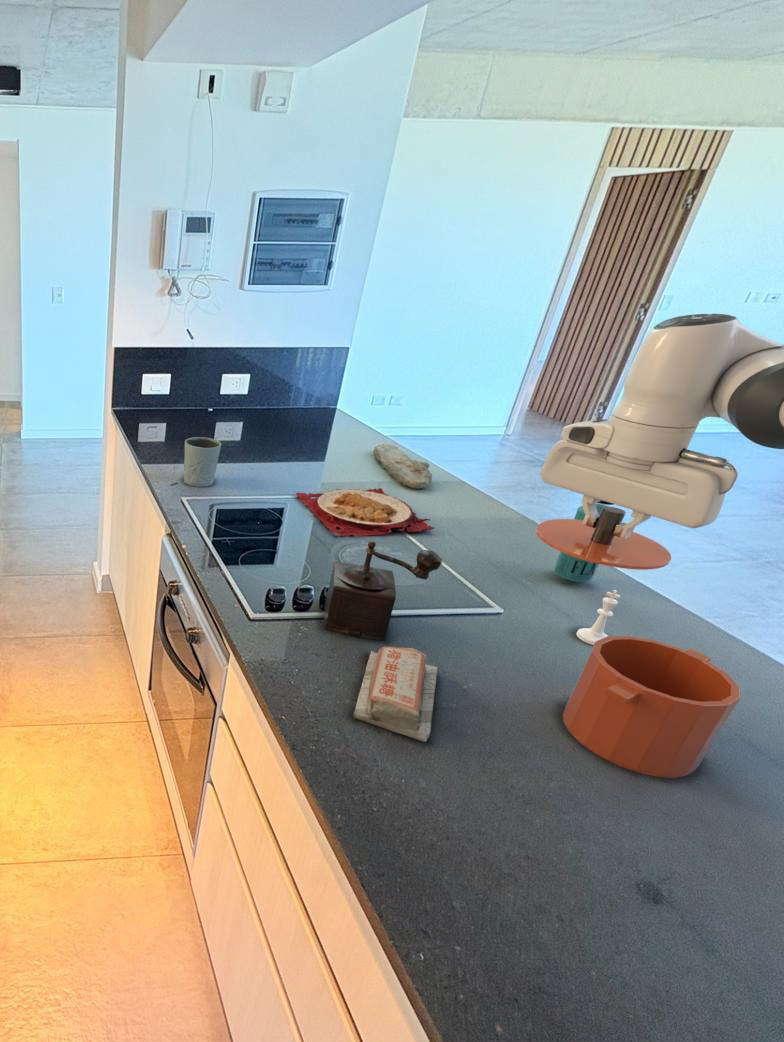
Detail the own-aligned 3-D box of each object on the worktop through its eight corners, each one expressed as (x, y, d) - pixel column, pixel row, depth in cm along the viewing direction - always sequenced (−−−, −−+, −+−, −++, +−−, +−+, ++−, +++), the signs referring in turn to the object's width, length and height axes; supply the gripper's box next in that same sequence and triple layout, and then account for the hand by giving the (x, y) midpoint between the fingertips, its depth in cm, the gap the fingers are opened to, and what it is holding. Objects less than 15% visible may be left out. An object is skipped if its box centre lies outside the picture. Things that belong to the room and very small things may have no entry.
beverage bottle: (560, 587, 124) (598, 496, 115) (543, 571, 130) (577, 483, 121) (597, 590, 123) (637, 498, 114) (577, 574, 129) (614, 485, 120)
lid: (691, 559, 88) (711, 520, 85) (629, 583, 82) (648, 542, 79) (572, 518, 100) (586, 483, 98) (511, 536, 95) (524, 500, 92)
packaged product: (436, 719, 84) (358, 694, 89) (427, 745, 87) (352, 720, 91) (443, 650, 98) (375, 632, 103) (435, 674, 100) (369, 655, 105)
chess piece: (607, 651, 105) (630, 601, 101) (572, 638, 109) (593, 590, 104) (613, 639, 108) (636, 591, 104) (579, 627, 112) (600, 580, 107)
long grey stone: (396, 456, 201) (364, 456, 202) (399, 440, 199) (366, 441, 200) (440, 490, 169) (401, 491, 171) (444, 472, 167) (404, 472, 169)
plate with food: (380, 494, 169) (382, 483, 168) (433, 533, 146) (437, 520, 145) (294, 498, 169) (296, 486, 167) (334, 537, 146) (337, 523, 144)
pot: (728, 750, 85) (774, 679, 79) (646, 800, 78) (690, 726, 72) (608, 687, 97) (641, 621, 91) (528, 726, 90) (558, 657, 84)
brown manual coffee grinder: (322, 632, 111) (341, 543, 103) (324, 601, 121) (341, 518, 112) (418, 651, 106) (446, 559, 98) (412, 617, 115) (437, 531, 107)
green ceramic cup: (181, 474, 184) (184, 436, 179) (215, 476, 183) (219, 437, 178) (182, 487, 175) (185, 447, 170) (218, 488, 174) (222, 448, 169)
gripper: (757, 459, 76) (706, 556, 83) (577, 419, 93) (546, 502, 99) (731, 466, 74) (680, 566, 80) (551, 424, 91) (521, 509, 97)
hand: (605, 531), depth 90 cm, fingers closed on lid, 2 cm apart
